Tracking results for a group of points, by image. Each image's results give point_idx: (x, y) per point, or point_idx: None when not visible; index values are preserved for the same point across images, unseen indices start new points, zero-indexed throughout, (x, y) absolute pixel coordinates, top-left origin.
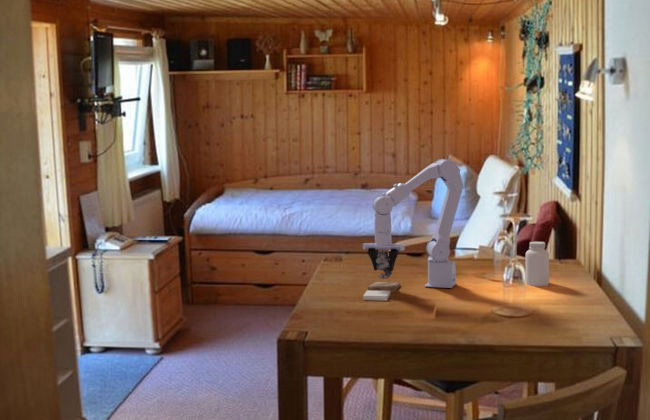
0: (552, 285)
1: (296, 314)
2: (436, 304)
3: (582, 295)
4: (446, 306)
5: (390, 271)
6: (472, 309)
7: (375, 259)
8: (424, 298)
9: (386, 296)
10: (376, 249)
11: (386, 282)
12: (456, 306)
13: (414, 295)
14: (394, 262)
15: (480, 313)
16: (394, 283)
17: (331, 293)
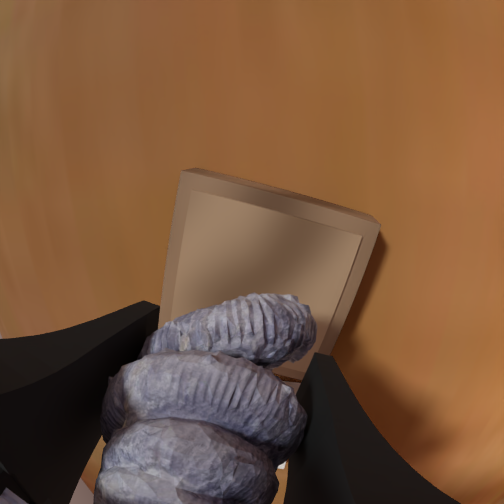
0: None
1: (83, 481)
2: (446, 473)
3: None
4: (461, 481)
5: (303, 343)
6: (498, 483)
7: (96, 416)
8: (444, 422)
9: (280, 466)
10: (9, 473)
11: (268, 220)
12: (483, 475)
13: (422, 383)
14: (357, 416)
15: (492, 498)
16: (334, 261)
17: (36, 311)
